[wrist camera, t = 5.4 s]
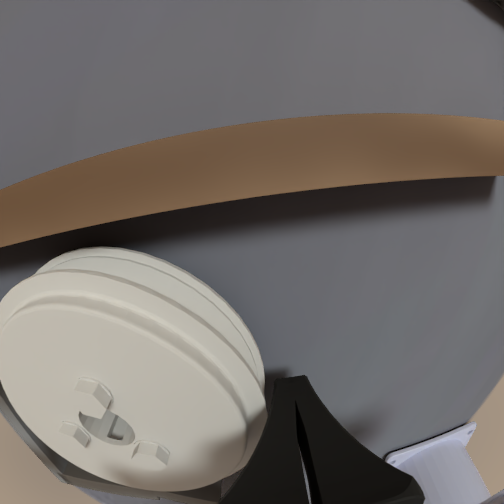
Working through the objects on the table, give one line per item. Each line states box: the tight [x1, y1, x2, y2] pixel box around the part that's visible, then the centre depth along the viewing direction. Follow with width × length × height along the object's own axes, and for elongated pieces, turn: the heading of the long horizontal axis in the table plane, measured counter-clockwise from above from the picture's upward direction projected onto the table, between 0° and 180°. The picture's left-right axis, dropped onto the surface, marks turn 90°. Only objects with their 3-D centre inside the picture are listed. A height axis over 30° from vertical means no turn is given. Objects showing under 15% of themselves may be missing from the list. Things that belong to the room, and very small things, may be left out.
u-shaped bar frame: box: [0, 113, 504, 504], centre depth 12 cm, size 20×28×3 cm
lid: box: [0, 246, 268, 491], centre depth 12 cm, size 13×13×5 cm
